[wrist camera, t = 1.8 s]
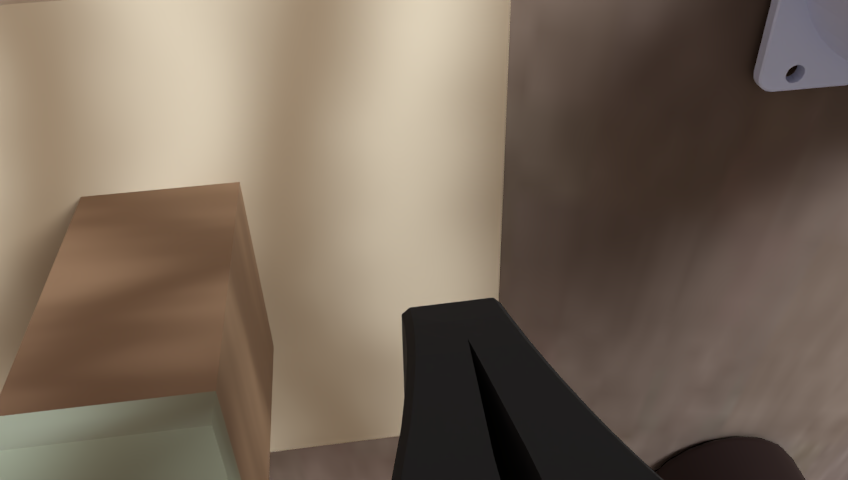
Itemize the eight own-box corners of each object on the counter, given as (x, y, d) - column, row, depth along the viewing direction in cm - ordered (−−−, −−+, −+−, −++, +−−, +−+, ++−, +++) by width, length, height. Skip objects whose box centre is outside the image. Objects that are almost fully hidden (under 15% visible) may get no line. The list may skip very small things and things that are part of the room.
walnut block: (239, 181, 20) (212, 425, 13) (273, 346, 23) (264, 599, 17) (80, 196, 19) (-25, 453, 13) (140, 361, 23) (81, 624, 17)
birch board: (502, -46, 18) (512, -32, 17) (488, 402, 28) (493, 424, 27) (-614, 33, 16) (-662, 52, 15) (-211, 487, 26) (-228, 513, 25)
